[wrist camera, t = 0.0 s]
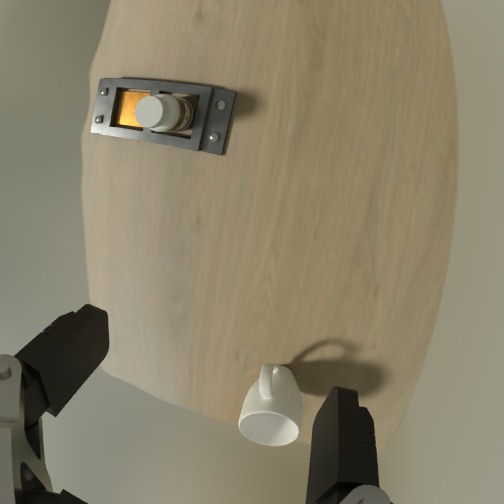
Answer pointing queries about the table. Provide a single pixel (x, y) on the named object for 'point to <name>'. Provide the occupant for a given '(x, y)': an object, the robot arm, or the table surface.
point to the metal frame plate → (209, 106)
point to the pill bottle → (164, 113)
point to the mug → (272, 408)
